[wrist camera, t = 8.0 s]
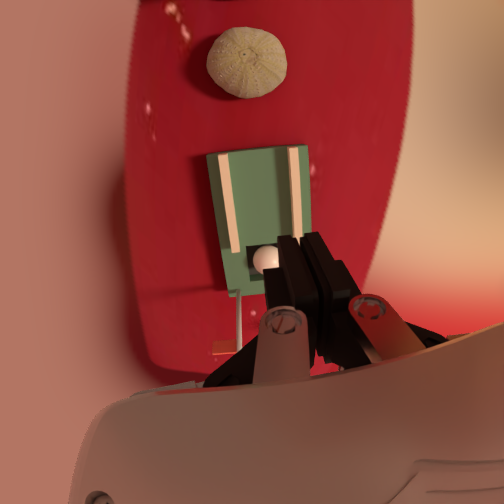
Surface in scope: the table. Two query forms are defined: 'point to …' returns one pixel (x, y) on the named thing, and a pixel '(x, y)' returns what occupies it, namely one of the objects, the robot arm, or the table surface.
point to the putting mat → (256, 213)
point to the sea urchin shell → (247, 62)
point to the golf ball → (266, 258)
